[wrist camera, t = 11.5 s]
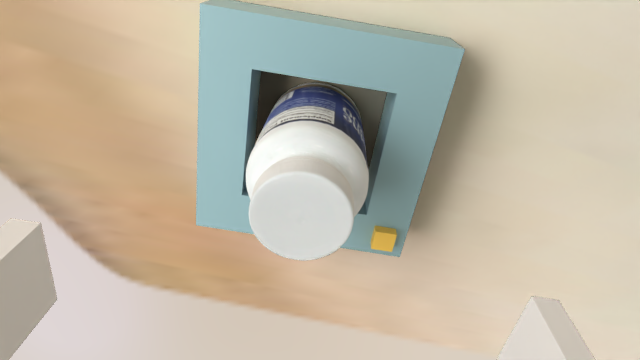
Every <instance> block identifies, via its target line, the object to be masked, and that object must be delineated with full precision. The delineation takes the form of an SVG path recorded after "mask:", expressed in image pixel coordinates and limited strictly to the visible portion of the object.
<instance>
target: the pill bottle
mask: <svg viewBox="0 0 640 360" xmlns="http://www.w3.org/2000/svg"><path fill="white" fill-rule="evenodd" d="M368 183H369V170H368V164H367V157H366V147H365V139H364V133H363V126H362V121H361V117H360V114H359V111H358V109H357V107H356V105H355V104H354V102H353V101H352V100H351V98H350V97H349V96H348V95H347V94H345V93H344V92H343V91H341V90H340V89H338V88H336V87H334V86H331V85H328V84H324V83H317V82H316V83H305V84H301V85H298V86H295V87H293V88H291V89H290V90H288V91H287V92H285V93H284V94H283V95H282V96H281V97H280V98H279V99H278V101H277V102H276V104H275V105H274V107H273V109H272V110H271V112H270V114H269V116H268V118H267V120H266V122H265V125H264V127H263V129H262V131H261V133H260V135H259V137H258V139H257V142H256V144H255V146H254V148H253V150H252V151H251V154H250V157H249V160H248V163H247V168H246V187H247V192H248V195H249V198H250V200H251V201H250V205H249V222H250V226H251V228H252V230H253V232H254V234H255V236H256V238H257V239H258V240H259V241H260V242H261V243H262V244H263V245H264V246H265V247H266V248H267V249H269V250H270V251H272V252H274V253H276V254H277V255H280V256H282V257H285V258H289V259H294V260H314V259H319V258H322V257H325V256H327V255H330V254H331V253H333V252H335V251H336V250H338V249H339V248H340V247H341V246H342V245H343V244H344V243H345V242H346V240H347V239H348V237H349V235H350V233H351V231H352V227H353V223H354V217H355V216H356V215H357V213H358V212H359V211H360V209H361V208H362V206H363V204H364V201H365V199H366V196H367V192H368Z"/></svg>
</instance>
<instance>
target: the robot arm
mask: <svg viewBox="0 0 640 360" xmlns="http://www.w3.org/2000/svg"><path fill="white" fill-rule="evenodd" d="M56 300H57V295H56V290H55V286H54V281H53V277H52V272H51V267H50V263H49V258H48V253H47V249H46V244H45V240H44V235H43V230H42V225H41V223H39V222H32V221H26V220H19V219H12V218H11V219H9V220H8V221H7V222H6V223H5V224H3V225H2V226H1V227H0V360H9V359H10V358H11V357H12V355H13V354H14V353H15V351H16V350H17V349H18V348H19V346H20V345H21V344H22V343H23V341H24V340H25V339H26V338H27V336H28V335H29V334H30V333H31V332H32V330H33V329H34V328H35V327H36V325H37V324H38V323H39V322H40V320H41V319H42V318H43V317H44V315H45V314H46V313H47V312H48V310H49V309H50V308H51V307H52V305H53V304H54V303H55V302H56ZM496 360H596V359H595V358H594V356H593V355H592V353H591V351H590V350H589V348H588V346H587V345H586V343H585V342H584V340H583V338H582V337H581V335H580V334H579V332H578V330H577V329H576V327H575V325H574V324H573V322H572V321H571V319H570V317H569V316H568V314H567V312H566V311H565V309H564V308H563V306H562V304H561V303H560V301H559V300H554V299H548V298H541V297H534V296H531V298H530V300H529V302H528V304H527V305H526V307H525V309H524V311H523V313H522V314H521V316H520V318H519V320H518V322H517V323H516V325H515V327H514V329H513V331H512V332H511V334H510V336H509V338H508V339H507V341H506V343H505V345H504V347H503V348H502V350H501V352H500V354H499V356H498V357H497V359H496Z"/></svg>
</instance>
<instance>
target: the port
mask: <svg viewBox="0 0 640 360" xmlns="http://www.w3.org/2000/svg"><path fill="white" fill-rule="evenodd" d="M464 51H465V49H464V48H463V47H461V46H460V45H459V44H457V43H456V42H455V41H453V40H452V39H451V38H447V37H441V36H436V35H430V34H424V33H418V32H413V31H407V30H401V29H395V28H390V27H384V26H378V25H372V24H367V23H361V22H355V21H349V20H344V19H338V18H332V17H326V16H321V15H315V14H309V13H303V12H298V11H292V10H286V9H280V8H275V7H269V6H263V5H257V4H252V3H246V2H240V1H234V0H209V1H206V2H203V3H200V34H199V90H198V147H197V203H196V225H199V226H205V227H212V228H218V229H224V230H231V231H237V232H244V233H250V234H254V232H253V230H252V228H251V226H250V222H249V205H250V201H251V200H250V198H249V195H248V192H247V187H246V168H247V163H248V160H249V157H250V154H251V151H252V150H253V148H254V146H255V135H256V123H257V112H258V101H259V90H260V78H261V71H266V72H272V73H278V74H284V75H290V76H296V77H301V78H307V79H313V80H319V81H325V82H331V83H337V84H343V85H349V86H355V87H361V88H367V89H373V90H378V91H384V92H387V95H386V100H385V104H384V108H383V112H382V116H381V121H380V125H379V129H378V133H377V137H376V141H375V146H374V150H373V154H372V158H371V162H370V167H369V183H368V192H367V196H366V199H365V201H364V204H363V206H362V208H361V209H360V211H359V212H358V213H357V215H356V216H355V217H354V223H353V227H352V231H351V233H350V235H349V237H348V239H347V240H346V242H345V243H344V244H343V245H342V246H341V247H340V248H346V249H352V250H359V251H365V252H372V253H378V254H384V255H391V256H397V257H400V254H401V251H402V248H403V245H404V242H405V238H406V235H407V232H408V229H409V226H410V222H411V219H412V216H413V213H414V210H415V207H416V203H417V200H418V197H419V194H420V191H421V187H422V184H423V181H424V178H425V175H426V172H427V168H428V165H429V162H430V159H431V156H432V153H433V149H434V146H435V143H436V140H437V137H438V133H439V130H440V127H441V124H442V121H443V118H444V114H445V111H446V108H447V105H448V102H449V98H450V95H451V92H452V89H453V86H454V83H455V79H456V76H457V73H458V70H459V67H460V63H461V60H462V57H463V54H464Z"/></svg>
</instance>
